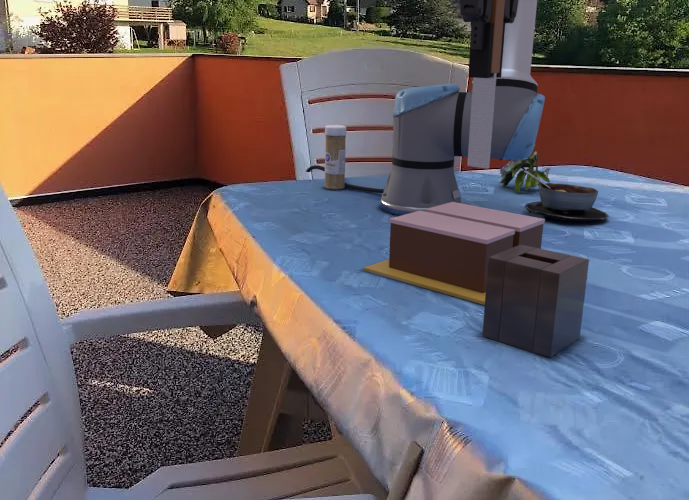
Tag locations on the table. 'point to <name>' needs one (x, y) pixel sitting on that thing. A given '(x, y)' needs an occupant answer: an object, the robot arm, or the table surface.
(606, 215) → the soup bowl
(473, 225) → the cake
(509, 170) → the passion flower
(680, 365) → the table surface
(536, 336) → the knife block
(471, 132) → the knife
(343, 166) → the sprinkles bottle
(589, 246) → the table surface
